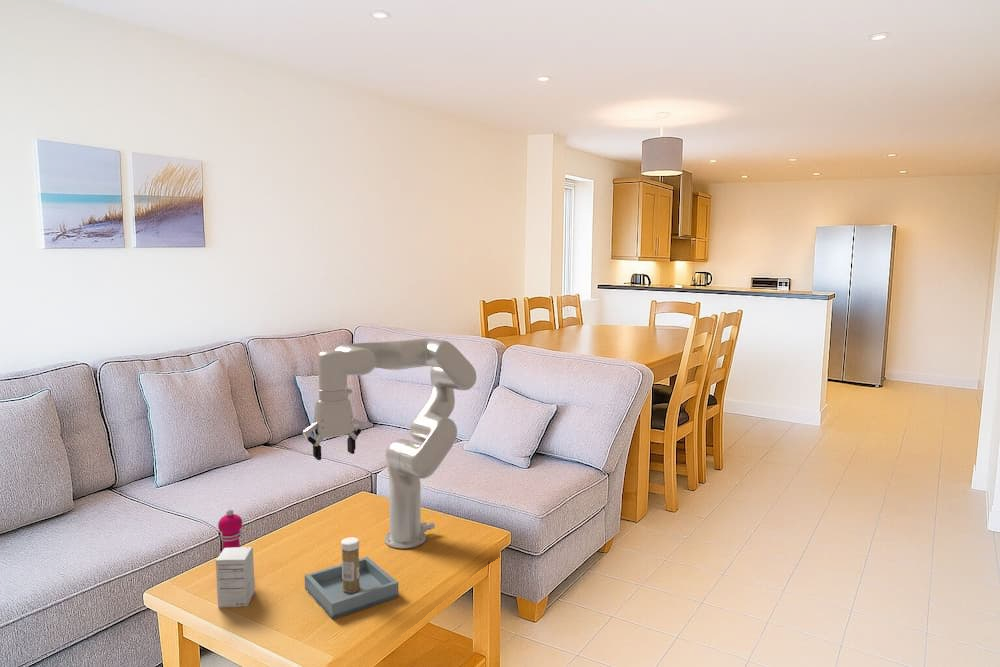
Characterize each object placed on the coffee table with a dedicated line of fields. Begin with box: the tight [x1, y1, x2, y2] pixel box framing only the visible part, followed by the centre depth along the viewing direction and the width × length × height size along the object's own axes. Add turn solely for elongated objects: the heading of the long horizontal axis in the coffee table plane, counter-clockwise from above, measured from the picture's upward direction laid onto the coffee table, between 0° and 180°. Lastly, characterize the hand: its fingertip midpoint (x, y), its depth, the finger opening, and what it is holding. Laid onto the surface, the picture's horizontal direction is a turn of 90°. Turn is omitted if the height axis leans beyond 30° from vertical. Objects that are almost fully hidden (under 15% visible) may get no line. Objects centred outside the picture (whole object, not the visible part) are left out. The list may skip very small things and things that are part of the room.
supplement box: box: [215, 546, 256, 608], centre depth 169 cm, size 7×7×13 cm
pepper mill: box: [217, 508, 243, 552], centre depth 179 cm, size 7×7×20 cm
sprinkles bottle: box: [340, 536, 360, 593], centre depth 173 cm, size 5×5×13 cm
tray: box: [304, 556, 399, 620], centre depth 174 cm, size 18×18×4 cm
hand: (334, 455), depth 184 cm, fingers open, 9 cm apart
